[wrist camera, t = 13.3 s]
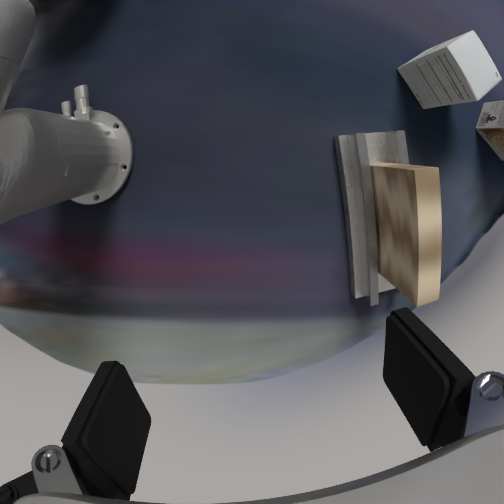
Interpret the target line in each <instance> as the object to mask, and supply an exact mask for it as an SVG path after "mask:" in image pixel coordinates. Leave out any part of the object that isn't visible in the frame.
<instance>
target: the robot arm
mask: <svg viewBox="0 0 504 504" xmlns="http://www.w3.org/2000/svg"><path fill="white" fill-rule="evenodd" d="M35 24H36V13H35V10H34V7H33V6H32V4H31V3H30V2H29V0H0V224H2V223H4V222H6V221H8V220H11V219H13V218H15V217H18V216H21V215H23V214H26V213H29V212H32V211H35V210H38V209H41V208H44V207H47V206H50V205H53V204H57V203H60V202H63V201H66V200H69V199H71V200H72V201H74V202H77V203H80V204H87V205H90V204H97V203H100V202H103V201H105V200H107V199H109V198H111V197H112V196H113V195H115V194H116V193H117V192H118V191H119V190H120V189H121V188H122V186H123V185H124V183H125V182H126V180H127V178H128V176H129V174H130V171H131V168H132V164H133V155H134V151H133V143H132V139H131V135H130V133H129V131H128V129H127V127H126V126H125V125H124V124H123V122H122V121H121V120H120V119H118V118H117V117H116V116H114V115H112V114H110V113H107V112H104V111H98V110H93V107H91V106H89V93H88V86H87V85H81V86H78V87H76V88H74V96H75V102H76V108H77V110H75V112H74V114H75V117H72V111H71V110H72V107H71V101H65V102H63V103H62V104H61V108H62V113H63V115H61V114H56V113H51V112H45V111H40V110H35V109H29V108H14V109H9V110H6V111H3V110H4V107H5V104H6V101H7V98H8V95H9V93H10V90H11V87H12V85H13V82H14V79H15V77H16V74H17V72H18V70H19V67H20V64H21V62H22V60H23V57H24V55H25V53H26V51H27V48H28V46H29V43H30V41H31V39H32V36H33V33H34V29H35ZM118 125H119V128H118V129H117V126H118ZM125 165H126V166H127V169H125V168H124V166H125ZM98 195H99V198H98ZM383 379H384V382H385V384H386V385H387V387H388V389H389V390H390V392H391V394H392V395H393V397H394V399H395V400H396V402H397V404H398V405H399V407H400V408H401V410H402V412H403V414H404V415H405V417H406V419H407V421H408V422H409V424H410V426H411V427H412V429H413V431H414V433H415V434H416V436H417V437H418V439H419V441H420V443H421V444H422V445H423V446H426V445H427V447H428V448H429V450H430V452H431V453H428V454H426V455H424V456H422V457H419V458H417V459H414V460H412V461H409V462H407V463H404V464H401V465H399V466H396V467H393V468H391V469H388V470H385V471H382V472H379V473H376V474H373V475H371V476H367V477H364V478H361V479H358V480H354V481H351V482H347V483H344V484H340V485H336V486H332V487H328V488H324V489H320V490H315V491H311V492H306V493H301V494H296V495H290V496H284V497H277V498H271V499H263V500H255V501H246V502H233V503H218V504H504V375H503V374H501V373H499V372H494V371H493V372H485V373H481V374H480V375H479V376H477V377H475V376H474V375H473V373H472V372H471V371H470V370H469V369H468V368H467V367H466V366H465V365H464V364H463V363H462V362H461V361H460V360H459V358H458V357H457V356H456V355H455V354H454V353H453V352H452V351H451V350H450V349H449V348H448V347H447V346H446V345H445V344H444V343H443V342H442V341H441V340H440V339H439V338H438V337H437V336H436V335H435V334H434V333H433V332H432V331H431V330H430V329H429V328H428V327H427V326H426V325H425V324H424V323H423V322H422V321H421V320H420V319H419V318H418V317H417V316H416V315H415V314H413V312H412V311H410V310H409V309H408V308H407V307H404V308H401V309H398V310H394V311H392V312H391V313H390V316H388V317H387V319H386V337H385V353H384V366H383ZM150 426H151V417H150V414H149V412H148V410H147V409H146V407H145V405H144V403H143V401H142V399H141V398H140V396H139V394H138V392H137V390H136V388H135V386H134V384H133V382H132V380H131V378H130V376H129V374H128V372H127V370H126V368H125V366H124V365H122V364H120V363H119V362H118V361H105V362H102V363H101V365H100V367H99V368H98V370H97V372H96V374H95V376H94V378H93V379H92V381H91V383H90V385H89V387H88V388H87V390H86V392H85V394H84V396H83V398H82V400H81V402H80V404H79V405H78V407H77V409H76V411H75V413H74V415H73V417H72V419H71V421H70V423H69V425H68V427H67V429H66V431H65V433H64V435H63V437H62V439H61V442H62V443H63V446H62V448H61V447H59V446H57V445H48V446H44V447H43V448H41V449H39V450H38V451H37V452H36V453H35V455H34V457H33V459H32V462H31V463H32V471H30V472H28V473H26V474H24V475H22V476H20V477H18V478H16V479H14V480H12V481H10V482H8V483H6V484H4V485H2V486H1V487H0V504H164V503H147V502H135V501H129V500H130V495H131V494H133V493H134V492H135V488H136V484H137V479H138V475H139V470H140V466H141V462H142V458H143V454H144V450H145V445H146V441H147V437H148V433H149V429H150ZM440 447H442V448H440ZM438 448H439V449H438ZM436 449H437V450H436ZM434 450H435V451H434ZM432 451H433V452H432ZM117 499H118V500H117Z"/></svg>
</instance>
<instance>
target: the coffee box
mask: <svg viewBox="0 0 504 504" xmlns="http://www.w3.org/2000/svg"><path fill="white" fill-rule="evenodd" d="M476 130H477V132H478V133H479V134H480V135H481V136H482V137H483V138H484V140H485V141H486V142H487V143H488V144H489V146H490V147H491V148H492V149H493V150H494V152H495V153H496V154H497V155H498V157H499V158H500V159H501V160H502V161H504V101H495V102H486V103H484V104H483V107H482V110H481V113H480V116H479V119H478V122H477V125H476Z"/></svg>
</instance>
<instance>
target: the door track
mask: <svg viewBox="0 0 504 504" xmlns="http://www.w3.org/2000/svg"><path fill="white" fill-rule="evenodd" d="M334 143H335V149H336V155H337V162H338V168H339V176H340V183H341V190H342V198H343V207H344V216H345V225H346V235H347V247H348V259H349V273H350V290H351V294H352V295H353V296H354V297H355V298H359V297H363V298H364V299H365V300H366V301H367V303H368V304H369V305H370V306H373V305H377V304H379V292H383V291H387V290H391V289H395V287H394V286H393V285H392V284H391V283H390V282H389V281H387V280H386V279H385V278H384V277H383V276H382V275H380V274H379V273H378V253H377V234H376V220H375V208H374V197H373V188H372V179H371V171H370V164H376V163H396V164H408V165H409V160H408V152H407V144H406V137H405V131H404V130H400V131H390V132H378V133H355V134H350V135H342V136H335V137H334Z"/></svg>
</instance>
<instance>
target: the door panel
mask: <svg viewBox="0 0 504 504" xmlns="http://www.w3.org/2000/svg"><path fill="white" fill-rule="evenodd" d="M370 171H371V179H372V188H373V197H374V208H375V220H376V234H377V253H378V273H379V274H380V275H382V276H383V277H384V278H385V279H386V280H387V281H389V282H390V283H391V284H392V285H393V286H394V287H395V288H397V289H398V290H399V291H400V292H401V293H402V294H403V295H404V296H406V297H407V298H408V299H409V300H410V301H411V302H412V303H413V304H414V305H416V306H417V307H418V306H421V305H424V304H427V303H430V302H433V301H436V300H439V290H440V275H441V250H442V219H441V194H440V179H439V168H438V167H429V166H419V165H408V164H396V163H376V164H370Z"/></svg>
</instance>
